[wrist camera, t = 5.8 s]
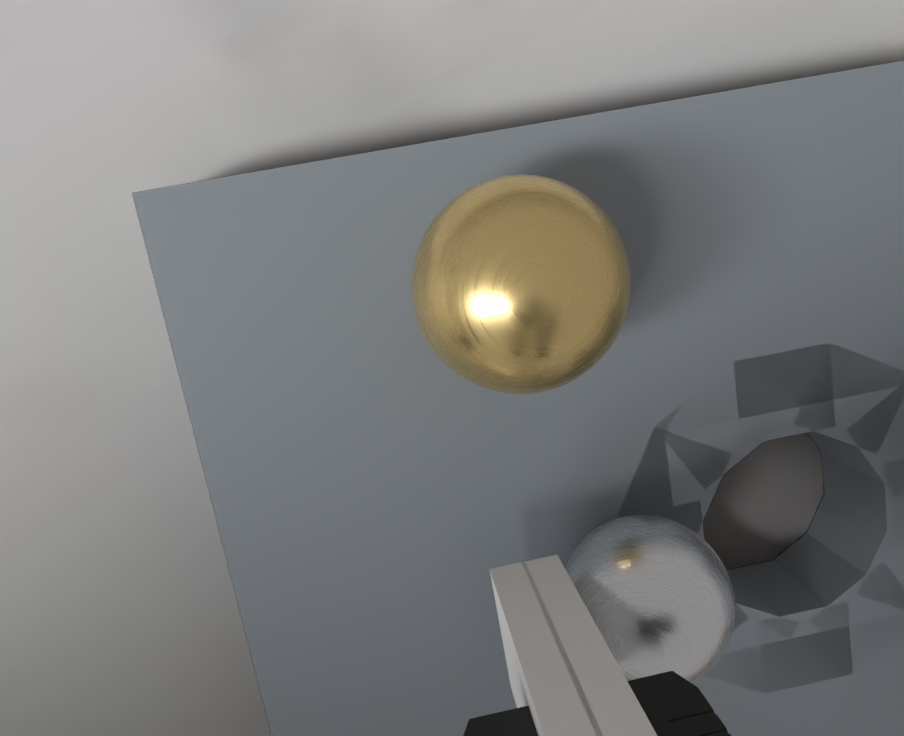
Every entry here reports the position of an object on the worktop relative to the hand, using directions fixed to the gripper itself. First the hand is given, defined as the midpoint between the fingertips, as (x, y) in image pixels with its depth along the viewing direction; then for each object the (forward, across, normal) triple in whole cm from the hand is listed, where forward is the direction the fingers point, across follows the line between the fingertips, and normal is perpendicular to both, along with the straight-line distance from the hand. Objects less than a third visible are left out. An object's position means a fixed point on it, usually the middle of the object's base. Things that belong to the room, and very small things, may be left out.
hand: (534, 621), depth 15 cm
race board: (+4, +3, 0) cm, 5 cm away
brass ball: (0, +1, +7) cm, 7 cm away
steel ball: (0, +2, 0) cm, 2 cm away
